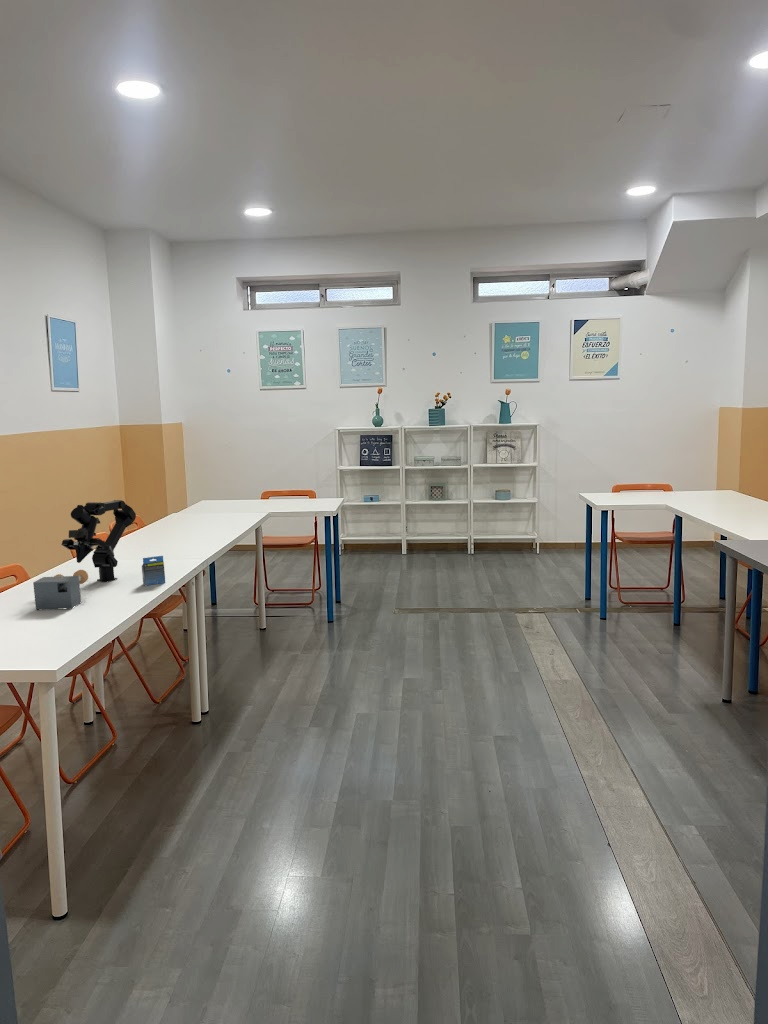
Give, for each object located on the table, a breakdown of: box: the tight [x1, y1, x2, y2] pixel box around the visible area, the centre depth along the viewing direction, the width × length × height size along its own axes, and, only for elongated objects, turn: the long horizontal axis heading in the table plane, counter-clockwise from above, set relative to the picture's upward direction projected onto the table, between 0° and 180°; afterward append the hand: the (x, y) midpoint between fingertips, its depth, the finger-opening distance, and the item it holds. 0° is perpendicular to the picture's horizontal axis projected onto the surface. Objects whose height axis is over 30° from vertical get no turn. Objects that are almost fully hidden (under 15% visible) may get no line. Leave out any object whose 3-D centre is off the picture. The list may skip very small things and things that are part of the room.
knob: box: [63, 569, 89, 589], centre depth 300 cm, size 16×6×6 cm, turn 1°
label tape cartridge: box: [141, 555, 166, 586], centre depth 327 cm, size 9×4×12 cm, turn 119°
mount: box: [33, 574, 82, 610], centre depth 296 cm, size 13×14×11 cm
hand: (78, 562), depth 317 cm, fingers closed
